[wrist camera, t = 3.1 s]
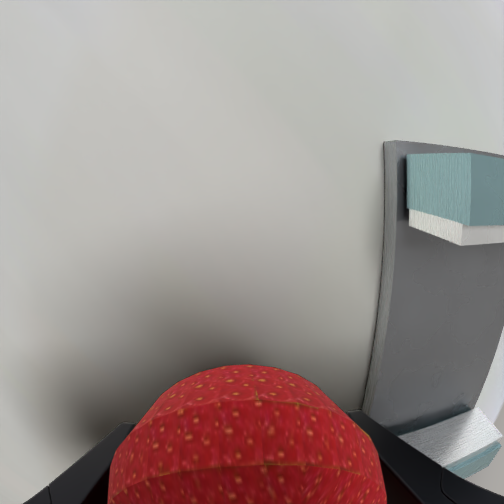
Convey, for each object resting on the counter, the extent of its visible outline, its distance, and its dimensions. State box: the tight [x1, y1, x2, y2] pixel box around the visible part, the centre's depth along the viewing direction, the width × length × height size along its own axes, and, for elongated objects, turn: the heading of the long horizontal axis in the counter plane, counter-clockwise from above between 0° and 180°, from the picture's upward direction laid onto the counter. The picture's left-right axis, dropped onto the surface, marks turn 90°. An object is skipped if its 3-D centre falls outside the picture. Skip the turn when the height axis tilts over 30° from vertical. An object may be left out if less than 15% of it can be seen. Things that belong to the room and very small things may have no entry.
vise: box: [361, 140, 504, 479], centre depth 11 cm, size 16×8×5 cm, turn 3°
